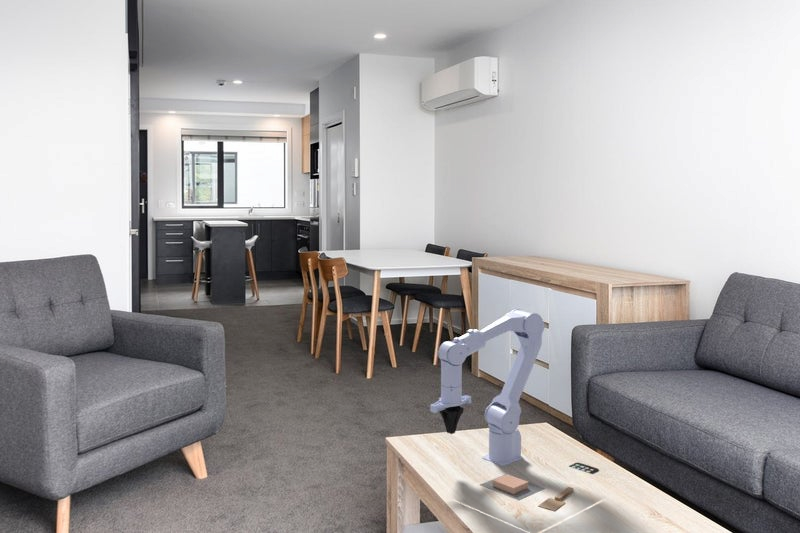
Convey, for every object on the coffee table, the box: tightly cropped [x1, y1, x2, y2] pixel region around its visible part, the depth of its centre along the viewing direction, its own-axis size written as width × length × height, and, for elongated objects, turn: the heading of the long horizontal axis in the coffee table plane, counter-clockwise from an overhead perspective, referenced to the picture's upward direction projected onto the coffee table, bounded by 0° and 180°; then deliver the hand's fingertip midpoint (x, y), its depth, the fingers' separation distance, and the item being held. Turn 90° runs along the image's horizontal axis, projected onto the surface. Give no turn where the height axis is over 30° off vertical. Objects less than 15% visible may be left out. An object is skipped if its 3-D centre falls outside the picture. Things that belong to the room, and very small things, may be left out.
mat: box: [479, 473, 546, 501], centre depth 187 cm, size 11×13×1 cm
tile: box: [492, 473, 529, 494], centre depth 186 cm, size 2×7×6 cm
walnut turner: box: [537, 486, 574, 512], centre depth 179 cm, size 14×4×1 cm, turn 142°
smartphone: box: [568, 462, 599, 475], centre depth 197 cm, size 7×1×15 cm
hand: (450, 432), depth 199 cm, fingers closed
